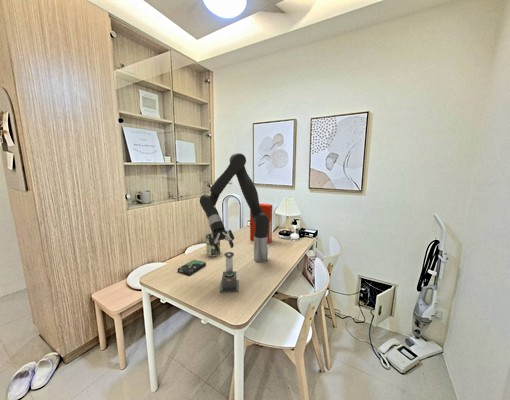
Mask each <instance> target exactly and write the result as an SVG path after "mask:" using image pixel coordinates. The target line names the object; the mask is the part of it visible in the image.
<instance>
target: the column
mask: <svg viewBox="0 0 510 400" xmlns="http://www.w3.org/2000/svg"><path fill="white" fill-rule="evenodd" d="M234 256H235V253H234V252H232V251H227V252H224V257H225V272H226V277H233V270H234V267H233V263H234V262H233V259H234V258H233V257H234Z"/></svg>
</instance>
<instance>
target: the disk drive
mask: <svg viewBox="0 0 510 400" xmlns="http://www.w3.org/2000/svg"><path fill="white" fill-rule="evenodd" d="M206 266H207V263H206V262H205V261H202V260H197V259H192V260H190V261H189V262H187V263H186V264H184V265H181V266H179V267H178V268H177V273H180V274H183V275H186V276H188V277H191V276H192V275H193V274H195V273H197V272H198V271H200V270H201V269H203V268H205V267H206Z"/></svg>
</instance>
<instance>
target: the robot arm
mask: <svg viewBox="0 0 510 400" xmlns="http://www.w3.org/2000/svg"><path fill="white" fill-rule="evenodd" d="M246 163H247V158H246V156H245V155H244V154H243V153H241V152H240V153H239V152H237V153H233V154H232V155H231V156H230V158H229V164H228V165H227V167H226V168H225V170H224V171H223V173H221V174H220V176H219V177H217V179H216V180H215V181H214V183H212V185H211V187H210V188H209V191H210V192H211V193H210V195H209V194H206V193H205V194H202V195H200V198H199V205H200V206H201V209H202V210H203V211H204V212H205V215H206V219H207V222H208V225H209V228H210V230H211V233H213V234H211V233H208V234H209V235H208V240H209V244H210V245H213V246H214V247H215V250H216V251H217V252H218V251H219V247H218V245H217V244H216V243H217V241H218V240H219V241H220V242H221V241H227V242H228V244H229V246H230V249H233V248H234V247H235V245H234V242H233V241H234V240H235V235H234V233H233V232H232V230H231V229H229V230H227V231H226V229H225V225H224V222H223V220H222V217H221V215H220V214H219V211H218V209H217V208H216V207H215V205H217V202H218V200H219V199H220V195H221V194H222V193H223V191H224V190H225V188H226V187H227V185H228V184H229V183H230V182H231V180H232V179H233V178H234V177H236V178H237V182H238V185H239V187H240V191H241V192H242V196H243V198H244V200H245V202H246V204H247V206H248V208H249V211H250V210H251V214H252V217H253V221H254V223H255V224H256V227H255V232H254V241H253V261H255V262H257V263H265V262H268V258H269V257H268V253H269V249H268V248H269V247H268V243H267V236H268V231H269V219H268V217H267V216H266V215H265V214H264V213H263V211H262V209H261V207H260V204H261V203H260V200H259V194H258V190H257V188H256V185H255V183H254V181H253V180H252V178H251V177H250V176H249V174H248V172H247V169H246V166H245V165H246ZM212 236H213V237H214V238H215V241H214V242H213V240H212Z"/></svg>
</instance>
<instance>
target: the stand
mask: <svg viewBox="0 0 510 400" xmlns="http://www.w3.org/2000/svg"><path fill="white" fill-rule="evenodd" d="M237 277H238V276H237V271H235V270H234V271H233V277H226V271H223V272H222V277H221V281H220V286H219V293H222V294H223V293H239V291H240V290H239V289H240V280H239V279H237Z"/></svg>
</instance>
